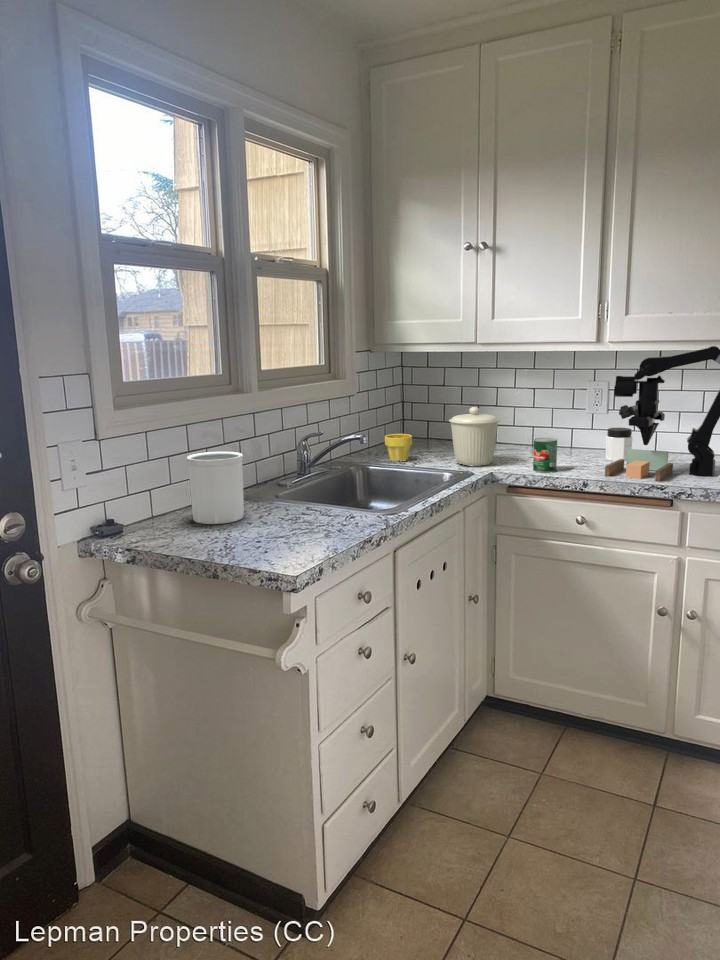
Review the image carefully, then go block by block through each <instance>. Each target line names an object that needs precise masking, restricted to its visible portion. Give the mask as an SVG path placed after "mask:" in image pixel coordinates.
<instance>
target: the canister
mask: <svg viewBox="0 0 720 960" xmlns="http://www.w3.org/2000/svg"><path fill="white" fill-rule="evenodd" d="M468 412H469V413H467V414H465V413H464V414H458V415H454V416H453V417H452V418H450V419H448V421H449V423H450V427H451V435H452V443H453V452H454V457H455V460H456V463H457V464H458V463H459V464H458V465H460V464H463V465H462V466H464V465H473V466H472V467H482V466H481V465H485V466H489V465H490V464H491V463H492V461H493V460H494V455H495V449H496V441H497V432H498V423H499V422H500V419H499V418H497V417H496V416H495V415H493V414H486V413H480V408H479V407H476V406H473V407H470V408H469V410H468Z"/></svg>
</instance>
